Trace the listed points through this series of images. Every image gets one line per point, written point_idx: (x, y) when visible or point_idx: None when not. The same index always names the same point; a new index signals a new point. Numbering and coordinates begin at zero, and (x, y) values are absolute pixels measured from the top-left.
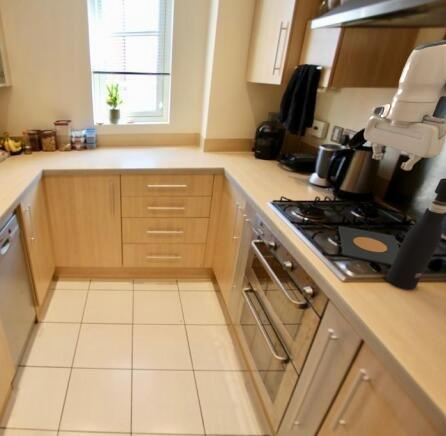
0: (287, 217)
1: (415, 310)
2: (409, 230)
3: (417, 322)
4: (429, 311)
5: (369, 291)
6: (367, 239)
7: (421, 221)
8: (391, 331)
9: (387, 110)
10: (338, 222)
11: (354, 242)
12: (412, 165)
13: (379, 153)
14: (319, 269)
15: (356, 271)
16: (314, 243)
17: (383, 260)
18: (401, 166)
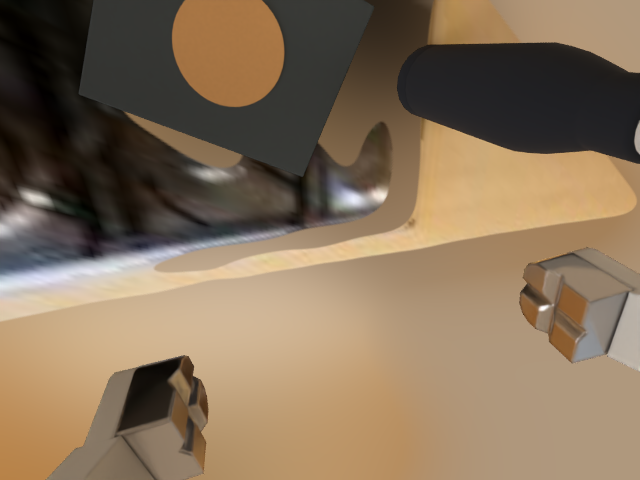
0: (48, 259)
1: None
2: (509, 142)
3: None
4: None
5: (447, 182)
6: (190, 35)
7: (582, 150)
8: (544, 201)
9: None
10: (21, 68)
11: (224, 104)
12: (630, 275)
13: (173, 457)
14: (365, 255)
15: (375, 174)
16: (238, 228)
17: (334, 67)
18: (541, 328)
